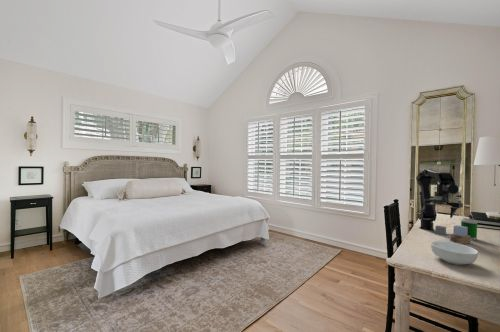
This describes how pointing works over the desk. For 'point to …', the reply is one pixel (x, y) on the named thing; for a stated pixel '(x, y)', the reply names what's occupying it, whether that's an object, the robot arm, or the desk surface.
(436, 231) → the charcoal cube
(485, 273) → the desk surface
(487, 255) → the desk surface
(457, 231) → the blue cube
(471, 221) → the soda can
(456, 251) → the cereal bowl
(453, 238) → the walnut plinth
